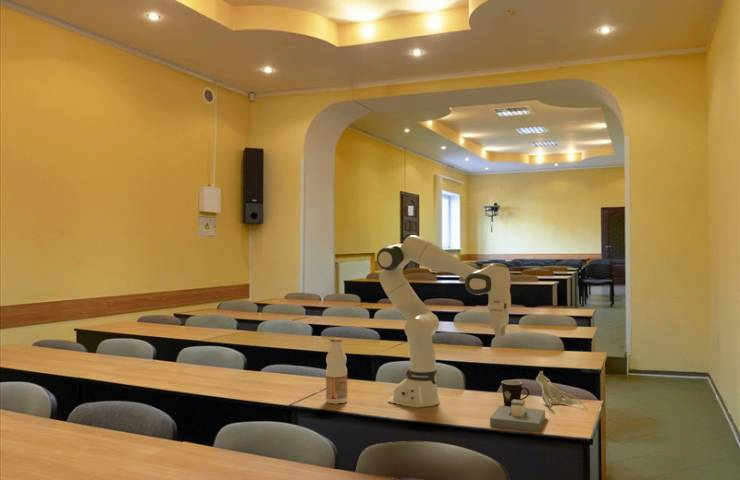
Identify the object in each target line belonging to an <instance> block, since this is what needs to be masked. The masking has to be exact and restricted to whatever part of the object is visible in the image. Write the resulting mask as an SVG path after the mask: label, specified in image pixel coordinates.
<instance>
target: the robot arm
mask: <svg viewBox="0 0 740 480" xmlns="http://www.w3.org/2000/svg"><path fill="white" fill-rule="evenodd" d="M376 262H377V265H378V266H379V267H380V268H381V269H382V270H381V271H380V272H379V274H378V280H379V283H380V285H381V287H382V289H383V291H384V293H385V294H386V296H387V297H388V299H389V300H390V303H392V305H393V307H394V308H395V309H396V310H397V312H398V313H400V314H401V315H402V316H403V317H404V318H405V319H406V320H407V321H406V323H405V324H404V333H405V336H406V337H407V344H408V347H409V360H410V361H409V363H410V364H409V366H410V368H409V369H408V370H406V371H405V374H404V375H405V376H406V378H404V379H403V380H402V381H401V382H399V383H398V384H397V385H395V387H394V390H393V395H391V396H389V398H388V403H389V402H390V403H389V404H393V403H396V404H395V405H399V404H401V405H400V406H407V407H410V408H411V407H412V408H422V407H423V408H424V407H432V406H435V405H439V404H440V403H441V402H440V401H441V400H440V397H439V394H438V386H437V381H438V374H437V373H438V371H437V369H436V366H437V365H436V350H435V348H434V343H433V335H434V334H435V333H436V332H437V331H438V329H439V325H440V320H439V318H438V316H437V314H434V313H433V312H432V311H431V309H429V307H428V306H427V305H426V304H425V303H424V302H423V301H422V299H420V298H419V296H418V295H417V293H416V292H415V291H414V289H413V288H412V286H411V285H410V283H409V281H408V280H407V279H406V277H405V276H404V272H403V271H406V270H407V268H408V267H409V265H410V264H411V263H412V262H415V263H416V264H418V265H419V266H422V267H423V268H426V269H428V270H431V271H434V272H435V271H437V272H447V273H452V274H454V275H456V276H459V277H460V278H462V279H464V280H465V281H464V285H465V290H466V291H467V292H468V293H470V294H472V295H475V296H477V295H478V296H481V295H484V294H486V295H487V294H488V304H487V309H488V310H489V311H488V314H489V323H490V324H489V325H490V329H492V330H493V331H494V335H495V340H500V339H501V337H502V336H503V337H504V336H506V327H507V325H508V323H509V321H510V316H509V315H510V314H509V309H511V308H512V296H511V291H510V290H511V286H512V285H511V273H510V268H509V267H508V266H507V265H505V264H502V263H496V262H494V263H493V262H492V263H490V264H488V265H487V266H485V267H484V268H482V269H479V268H476V267H474V266H473V265H470V264H468V263H466V262H464V261H462V260H460V259H458V258H457V257H455V256H453V255H452V254H450V253H449V252H448V251H446V250H445V249H443V248H442V247H441V246H440V245H437V244H436V243H435V242H433V241H430V240H429V239H426V238H423V237H422V236H418V235H415V234H414V235H413V234H412V235H411V234H410V235H409V236H408V237H407V238H405V239H404V241H403V242H399V243H392V244H390V245H388V246H387V245H386V246H383V247H382V248H381V249H380V250H378V252H377V254H376Z"/></svg>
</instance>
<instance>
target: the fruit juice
mask: <svg viewBox="0 0 740 480" xmlns="http://www.w3.org/2000/svg"><path fill="white" fill-rule="evenodd" d="M342 341H343V340H342V338H340V337H333V338H330V347H329V349H328V353H327V355H326V358H325V362H326V370H325V392H326V394H325V396H326V397H325V398H326V402H329V403H335V404H334V405H339V404H338V403H343V404H345V403H344V402H346V403H347V402H348V368H347V365H346V364H347V355H346V353H345V352H344V349H343V347H342ZM329 403H328V404H329Z"/></svg>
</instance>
